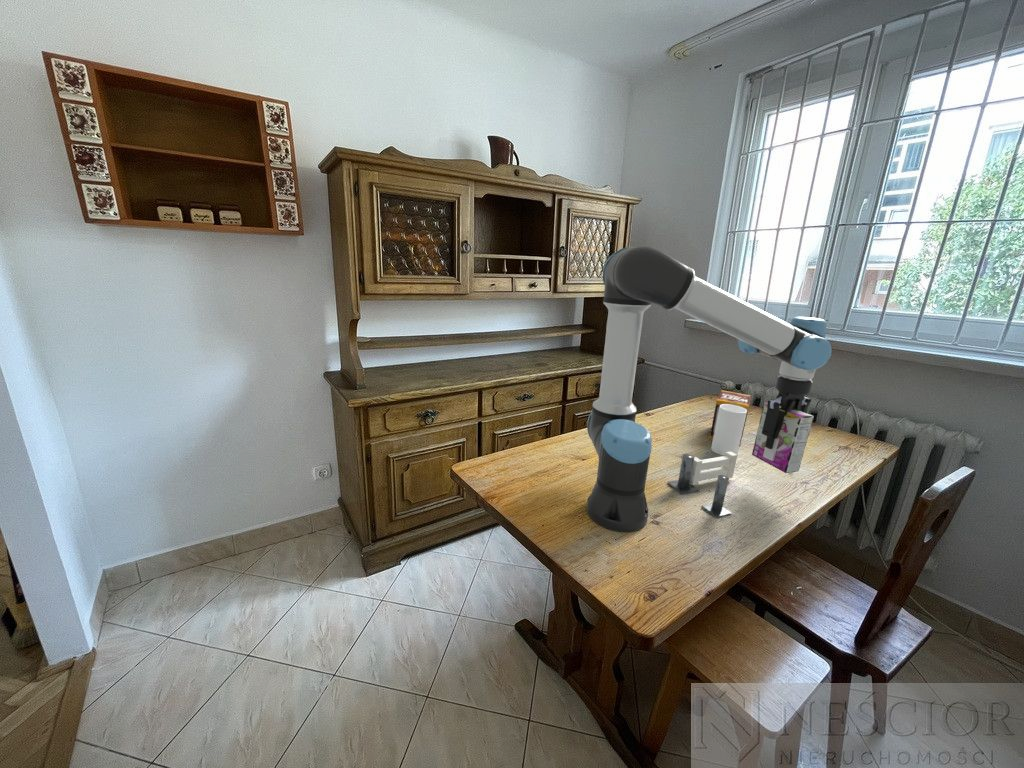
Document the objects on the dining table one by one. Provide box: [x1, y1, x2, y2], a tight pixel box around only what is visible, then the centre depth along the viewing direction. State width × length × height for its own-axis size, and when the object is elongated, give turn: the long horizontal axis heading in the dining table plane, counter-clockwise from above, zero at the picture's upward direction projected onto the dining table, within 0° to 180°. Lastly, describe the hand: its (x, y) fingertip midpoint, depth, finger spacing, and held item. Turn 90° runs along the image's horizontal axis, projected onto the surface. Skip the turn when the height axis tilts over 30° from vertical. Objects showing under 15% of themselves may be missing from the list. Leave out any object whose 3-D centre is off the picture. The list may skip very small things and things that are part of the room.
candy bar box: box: [751, 402, 815, 474], centre depth 110 cm, size 11×5×16 cm, turn 17°
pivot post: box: [667, 453, 700, 496], centre depth 114 cm, size 6×6×10 cm
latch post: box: [701, 475, 733, 519], centre depth 103 cm, size 5×5×10 cm
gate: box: [690, 451, 738, 486], centre depth 117 cm, size 16×2×8 cm, turn 110°
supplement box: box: [708, 389, 752, 447], centre depth 150 cm, size 10×15×16 cm
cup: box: [710, 404, 747, 456], centre depth 137 cm, size 8×8×16 cm
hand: (775, 457), depth 111 cm, fingers closed on candy bar box, 5 cm apart
